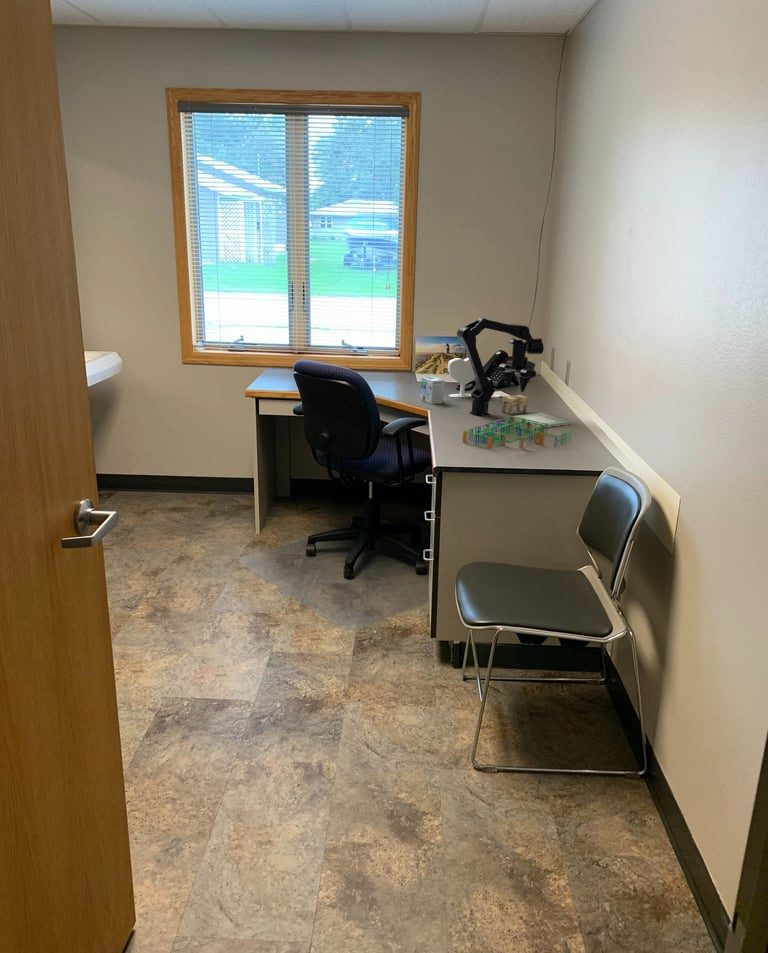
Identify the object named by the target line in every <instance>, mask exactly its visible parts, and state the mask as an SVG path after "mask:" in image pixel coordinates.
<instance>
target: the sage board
mask: <svg viewBox="0 0 768 953" xmlns="http://www.w3.org/2000/svg"><path fill="white" fill-rule="evenodd" d="M512 416H513V417H518V418H523V419H526V421H527V420H530V421H528V422H532V421H535V422H533V423H536V422H540V423H538V424H542V423H545V424H543V425H545V427H547V425H546V424H548V427H549V428H552V427H551V426H556V427H561V426H560V425H564V426H569V425H568V424H570V425H571V421H569V420H565V419H562V418H560V417H556V416H554V415H550V414H546V413H544V412H535V413H528V414H527V413H525V414H520V415H519V414H518V415H512ZM518 418H517V419H516V418H514V422H515V423H516V422H517V423H518V424H521V423H520V422H519V421H521V419H518ZM525 426H527V424H526V425H525ZM531 426H532V423H531ZM532 427H535V424H533V426H532ZM532 427H531V428H532ZM537 427H540V425H536V428H537Z"/></svg>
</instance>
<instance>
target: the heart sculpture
mask: <svg viewBox="0 0 768 953" xmlns="http://www.w3.org/2000/svg"><path fill="white" fill-rule="evenodd" d="M447 362H448V363H447V372H448V374H449V376H450V378H452V379H453V380H454V381H455V382H457V383H459V384H460V386H459V387H460V388H459V393H453V394H452V393H451V394H448V397H451V398H460V397H461V398H462V397H465V398H466V397H468V398H469V397H471V393H465V388H466V385H468V384H469V383H470V382H472V381H473V380H474V379H476V377H475V374H474V372H473V369H472V366H471V363H470V360H469V357H465V358H464V359H462V358H460V357H455V358H452V359H450V360H449V361H447ZM471 398H472V397H471Z"/></svg>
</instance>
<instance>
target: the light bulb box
mask: <svg viewBox="0 0 768 953" xmlns="http://www.w3.org/2000/svg"><path fill="white" fill-rule="evenodd" d="M444 393H445V379H442V378H439V377H436V376H431V375H430V376H421V381H420V397H419V398H420V400H421V401H423V402H426V403H428V404H431V405H434V404H444V395H445V394H444Z"/></svg>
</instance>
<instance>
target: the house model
mask: <svg viewBox="0 0 768 953" xmlns="http://www.w3.org/2000/svg"><path fill="white" fill-rule="evenodd" d="M513 416H514V415H508V416H506V417H503V418H500V419H496V420H494V421H491V422H488V423H484V424H482V425H478V426H475V427H471V428H468V429H465V430H463V432H462V443H464V444H467V443H468V444H469V443H470V445H472V444H473V445H475V446H477V447H481V446H482V447H483V445H487V449H490V448H492V449H495V448H497V447H500V446H506V442H507V443H514V442H516V441H518V442H519V444H518V448H519V449H520V448H522V449H524V448H526V447H528V446H529V444H531V445H533V444H534V443H535V444H539V443H540V444H539V445H544V441H545V436H548V437H553V438H554V443H553V447H554V448H557V446H558V447H559V446H562V445H563V443H564V441H565V443H568V442H569V440H571V437H572V434H571V433H570V432H572V429H571V430H568V431H566V432H563V433H560V434H557V435H555V434H550V433H548V428H545V425H543V424H545V423H542V424H538V423H540V422H536V423H533V422H535V421H532V422H528V421H530V420H527V421H526V419H523V418H518V417H513ZM514 418H516V419H517V418H518V419H521V421H519V422H520V423H519V422H516V421H514ZM531 423H532V426H533V424H535V428H533V427H531ZM526 424H527V425H526ZM490 425H491V426H490ZM536 425H540V427H537V428H536ZM546 425H547V427H548V424H546ZM511 426H512V427H511ZM521 428H522V429H521ZM539 428H540V429H539ZM523 429H524V430H523ZM474 430H475V431H474ZM512 431H513V432H512ZM518 431H519V432H518ZM526 431H527V432H526ZM516 432H517V433H516ZM515 433H516V435H515ZM485 434H486V435H485ZM510 434H511V435H510ZM522 436H523V437H522ZM477 437H478V438H477ZM506 437H510V438H516V439H513V440H511V441H510V440H506V439H507V438H506ZM525 438H527V439H528V441H527V444H526V445H524V443H525V441H524V440H525ZM532 439H534V441H533V440H532ZM568 439H569V440H568ZM531 441H533V442H532V443H531ZM471 443H472V444H471ZM497 443H498V444H497ZM535 444H534V445H535Z"/></svg>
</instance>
